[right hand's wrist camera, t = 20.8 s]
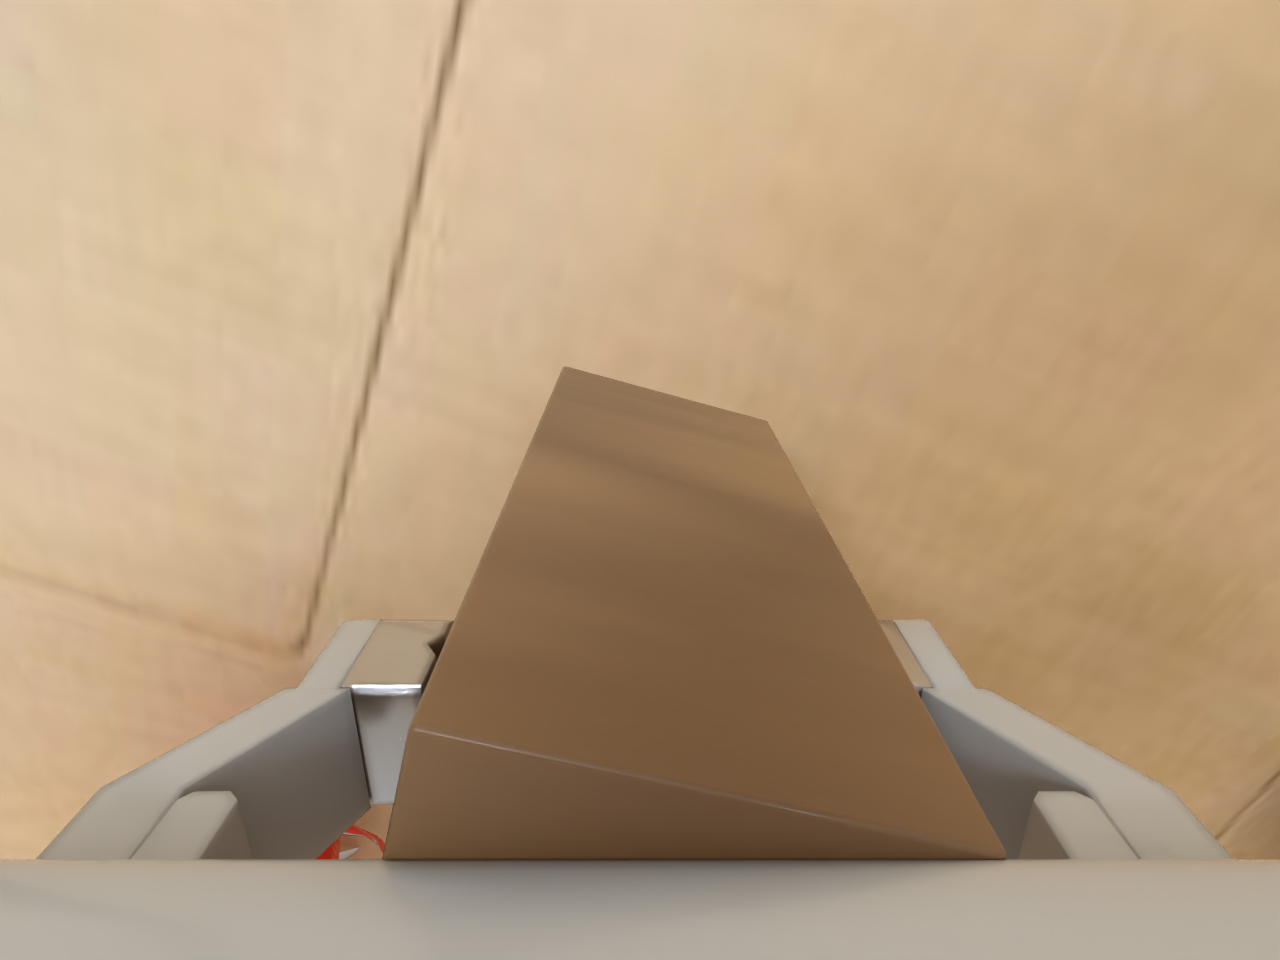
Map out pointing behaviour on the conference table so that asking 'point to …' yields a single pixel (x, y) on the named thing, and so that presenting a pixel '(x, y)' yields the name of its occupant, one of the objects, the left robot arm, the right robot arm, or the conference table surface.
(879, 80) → the conference table surface
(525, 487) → the brick
